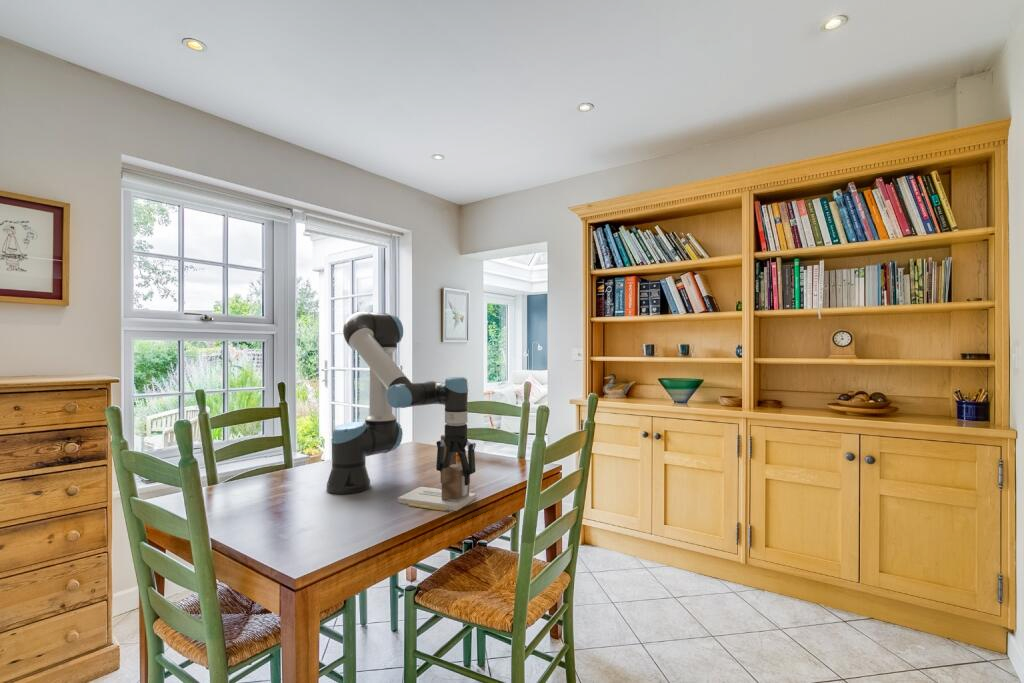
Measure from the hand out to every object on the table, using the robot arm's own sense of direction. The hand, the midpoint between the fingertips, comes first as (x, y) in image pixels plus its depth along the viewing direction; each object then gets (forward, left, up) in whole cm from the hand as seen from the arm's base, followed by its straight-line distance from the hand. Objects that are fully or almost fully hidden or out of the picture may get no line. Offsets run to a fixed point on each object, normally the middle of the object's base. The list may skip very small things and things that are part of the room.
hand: (455, 493), depth 162 cm
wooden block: (-12, +19, -3) cm, 23 cm away
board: (-7, 0, -3) cm, 7 cm away
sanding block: (0, 0, -1) cm, 1 cm away
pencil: (-6, -9, -3) cm, 11 cm away
